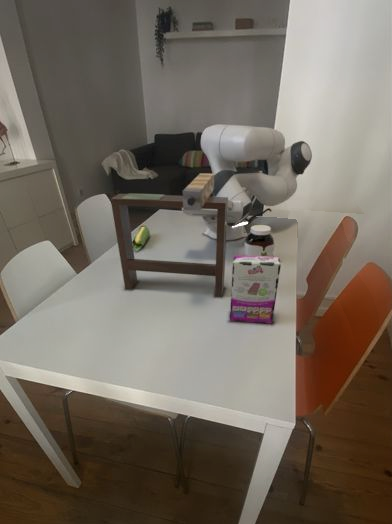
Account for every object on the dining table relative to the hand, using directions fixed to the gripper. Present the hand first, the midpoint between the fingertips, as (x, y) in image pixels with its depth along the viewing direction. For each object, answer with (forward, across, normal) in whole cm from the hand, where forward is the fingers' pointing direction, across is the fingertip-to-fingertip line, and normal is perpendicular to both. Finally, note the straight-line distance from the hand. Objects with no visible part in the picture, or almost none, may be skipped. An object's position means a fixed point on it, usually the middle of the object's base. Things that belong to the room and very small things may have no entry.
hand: (210, 200), depth 98 cm
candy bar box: (+16, +16, +34) cm, 41 cm away
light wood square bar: (+17, 0, +5) cm, 18 cm away
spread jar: (-20, +17, +14) cm, 29 cm away
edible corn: (-27, -31, +9) cm, 42 cm away
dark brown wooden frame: (+5, -8, +28) cm, 29 cm away
